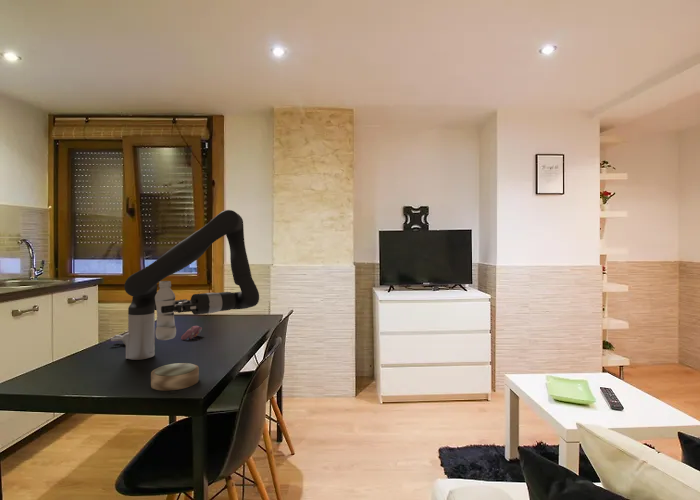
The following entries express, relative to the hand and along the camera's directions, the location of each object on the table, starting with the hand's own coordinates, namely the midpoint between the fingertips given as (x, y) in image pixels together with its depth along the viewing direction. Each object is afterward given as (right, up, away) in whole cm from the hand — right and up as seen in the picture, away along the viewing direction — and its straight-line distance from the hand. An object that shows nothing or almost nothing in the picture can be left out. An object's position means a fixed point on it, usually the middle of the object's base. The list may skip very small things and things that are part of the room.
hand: (158, 308), depth 132 cm
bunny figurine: (-33, -23, +43) cm, 58 cm away
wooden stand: (+9, -23, -7) cm, 25 cm away
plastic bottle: (+2, -11, +2) cm, 11 cm away
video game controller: (-11, -23, +55) cm, 60 cm away
